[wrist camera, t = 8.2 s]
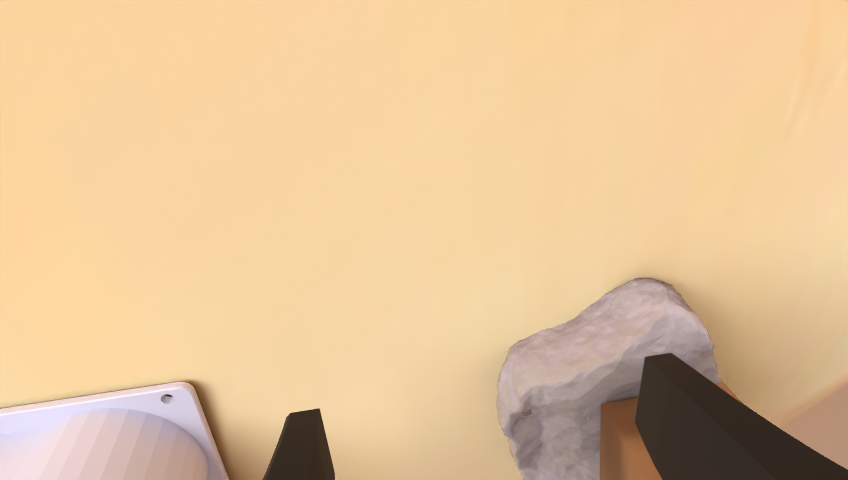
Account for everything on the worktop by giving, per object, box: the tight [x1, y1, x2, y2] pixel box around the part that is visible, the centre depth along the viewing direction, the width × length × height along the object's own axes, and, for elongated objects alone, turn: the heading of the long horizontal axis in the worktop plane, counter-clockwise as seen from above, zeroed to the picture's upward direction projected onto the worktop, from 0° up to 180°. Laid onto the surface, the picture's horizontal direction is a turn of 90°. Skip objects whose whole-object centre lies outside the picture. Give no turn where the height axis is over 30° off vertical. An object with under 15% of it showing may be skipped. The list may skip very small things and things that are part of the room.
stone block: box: [497, 278, 721, 480], centre depth 26 cm, size 12×5×10 cm
